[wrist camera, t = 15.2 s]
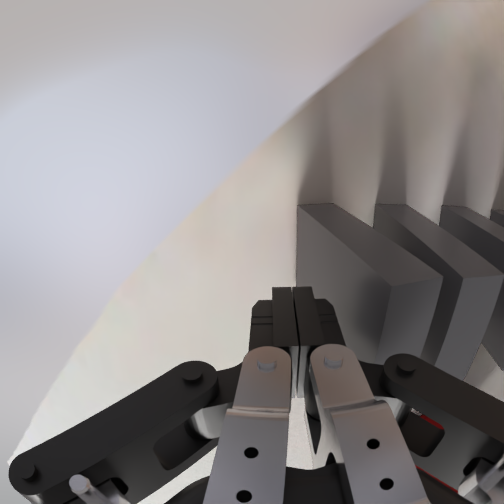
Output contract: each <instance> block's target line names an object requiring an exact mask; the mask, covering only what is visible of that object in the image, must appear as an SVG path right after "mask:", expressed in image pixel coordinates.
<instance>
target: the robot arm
mask: <svg viewBox="0 0 504 504" xmlns="http://www.w3.org/2000/svg"><path fill="white" fill-rule="evenodd" d="M296 391H297V398H303V397H304V398H305V411H304V419H305V424H306V429H307V434H308V440H309V445H310V450H311V456H312V464H313V468H312V470H304V469H298V468H292V467H286V458H287V443H288V427H289V413H290V410H291V398H295V392H296ZM412 408H414V409H415V410H417V411H419V412H420V413H422V414H424V415H425V416H427V417H429V418H430V419H432V420H434V421H436V422H437V423H439V424H440V425H441V426H442V427H443V428H444V430H443V429H440V428H438V427H436V426H435V425H433V424H431V423H429V422H428V421H426V420H424V419H423V418H421V417H419V416H418V415H416V414H414V413H413V412H411V410H412ZM217 445H218V446H217ZM216 446H217V450H216V454H215V458H214V462H213V466H212V470H211V474H210V476H207V477H204V478H202V479H200V480H198V481H195V482H193V483H192V484H190V485H188V486H187V487H185V488H184V489H183V490H181V491H180V492H179V493H177V494H176V495H175V496H174V497H172V498H171V499H170V500H168V501H167V502H166V503H164V504H504V402H502V401H500V400H498V399H496V398H495V397H493V396H491V395H489V394H487V393H485V392H483V391H481V390H479V389H477V388H475V387H473V386H471V385H469V384H467V383H466V382H464V381H462V380H460V379H458V378H456V377H454V376H452V375H450V374H448V373H446V372H445V371H443V370H441V369H439V368H437V367H435V366H433V365H431V364H429V363H428V362H426V361H424V360H422V359H420V358H418V357H416V356H414V355H411V354H405V353H400V354H395V355H392V356H390V357H389V358H387V360H386V361H385V363H384V365H380V364H372V363H366V362H363V361H360V360H358V359H357V357H356V355H355V353H354V352H353V351H352V350H351V349H349V348H348V347H346V344H345V341H344V338H343V335H342V331H341V328H340V325H339V323H338V319H337V316H336V313H335V310H334V307H333V305H332V304H331V303H330V302H329V301H328V300H326V299H325V298H324V299H315V298H314V294H313V290H312V287H311V286H303V287H292V290H291V287H272V300H258V302H257V303H256V304H255V305H254V306H253V308H252V318H251V329H250V340H249V351H248V353H247V354H246V355H245V357H244V359H243V362H242V363H240V364H239V365H237V366H235V367H232V368H229V369H225V370H220V371H216V370H215V368H214V367H213V366H211V365H210V364H208V363H206V362H202V361H188V362H184V363H182V364H180V365H178V366H176V367H175V368H173V369H171V370H170V371H168V372H166V373H165V374H163V375H162V376H160V377H158V378H157V379H155V380H153V381H152V382H150V383H149V384H147V385H145V386H144V387H142V388H140V389H139V390H137V391H135V392H134V393H132V394H130V395H128V396H127V397H125V398H123V399H122V400H120V401H118V402H116V403H115V404H113V405H111V406H110V407H108V408H106V409H104V410H103V411H101V412H99V413H97V414H95V415H94V416H92V417H90V418H88V419H87V420H85V421H83V422H81V423H79V424H77V425H76V426H74V427H72V428H70V429H68V430H66V431H64V432H63V433H61V434H59V435H57V436H55V437H53V438H51V439H49V440H47V441H45V442H43V443H42V444H40V445H38V446H36V447H34V448H32V449H30V450H28V451H26V452H24V453H22V454H20V455H18V456H17V457H16V458H15V459H14V460H13V461H12V463H11V465H10V468H9V480H10V482H11V484H12V486H13V487H14V489H15V490H17V491H18V492H19V493H20V494H21V495H23V496H24V497H25V498H26V499H28V500H29V501H30V502H31V503H32V504H137V503H138V502H140V501H141V500H143V499H145V498H146V497H148V496H149V495H151V494H152V493H154V492H155V491H157V490H158V489H160V488H161V487H162V486H164V485H165V484H167V483H168V482H170V481H171V480H172V479H174V478H175V477H177V476H178V475H179V474H181V473H182V472H183V471H185V470H186V469H188V468H189V467H190V466H192V465H193V464H194V463H196V462H197V461H198V460H199V459H201V458H202V457H203V456H205V455H206V454H207V453H208V452H210V451H211V450H212V449H213V448H215V447H216ZM415 465H416V466H418V467H420V468H421V469H423V470H424V471H426V472H428V473H429V474H431V475H432V476H434V477H436V478H437V479H439V480H441V481H442V482H444V483H446V484H447V485H449V486H451V487H453V488H454V489H456V490H458V493H456V492H455V491H453V490H452V489H450V488H448V487H447V486H445V485H444V484H442V483H441V482H439V481H438V480H436V479H435V478H433V477H432V476H430V475H429V474H427V473H426V472H424V471H422V470H420V469H418V468H416V467H415Z"/></svg>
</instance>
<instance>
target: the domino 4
mask: <svg viewBox="0 0 504 504" xmlns="http://www.w3.org/2000/svg"><path fill="white" fill-rule="evenodd" d="M490 220H491V221H493V222H495V223H497V224H499V225H500V226H502V227H504V210H494V209H492V210H491V216H490Z"/></svg>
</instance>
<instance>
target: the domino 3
mask: <svg viewBox="0 0 504 504" xmlns="http://www.w3.org/2000/svg"><path fill="white" fill-rule="evenodd" d="M439 226H440V227H441V228H443V229H444V230H446V231H447V232H449V233H450V234H451V235H453V236H454V237H456V238H457V239H458V240H460V241H461V242H463V243H464V244H465V245H467V246H468V247H469V248H471V249H472V250H473V251H475V252H476V253H477V254H479V255H480V256H481V257H483V258H484V259H485V260H487V261H488V262H489V263H490V264H492V265H493V266H494V267H496V268H497V269H498V270H499V271H501V272H502V273H503V274H504V227H502V226H500V225H499V224H497V223H495V222H493V221H491V220H490V219H488V218H486V217H484V216H482V215H480V214H479V213H477V212H475V211H473V210H471V209H469V208H467V207H460V206H443V205H442V208H441V216H440V223H439ZM481 343H482V344H483V345H484V347H485V348H486V349H487V351H488V352H489V353H490V355H491V356H492V357H493V359H494V360H495V362H496V363H497V364H498V366H499V367H500V368H501V370H502V371H503V370H504V279H503V282H502V285H501V289H500V292H499V295H498V298H497V301H496V304H495V307H494V310H493V313H492V316H491V318H490V321H489V324H488V326H487V329H486V331H485V334H484V336H483V339H482V341H481Z"/></svg>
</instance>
